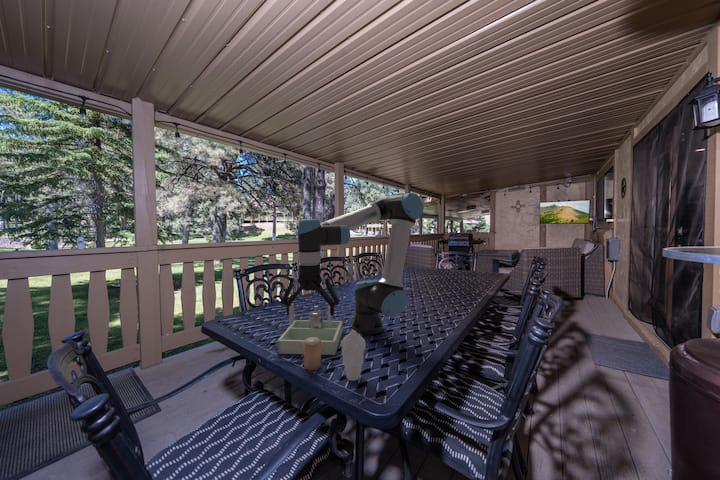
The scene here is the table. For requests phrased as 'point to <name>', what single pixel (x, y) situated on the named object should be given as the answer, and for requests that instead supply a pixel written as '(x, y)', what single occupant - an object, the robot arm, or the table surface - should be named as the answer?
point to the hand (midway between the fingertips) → (310, 323)
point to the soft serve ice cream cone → (353, 354)
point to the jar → (312, 353)
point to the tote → (300, 331)
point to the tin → (316, 319)
